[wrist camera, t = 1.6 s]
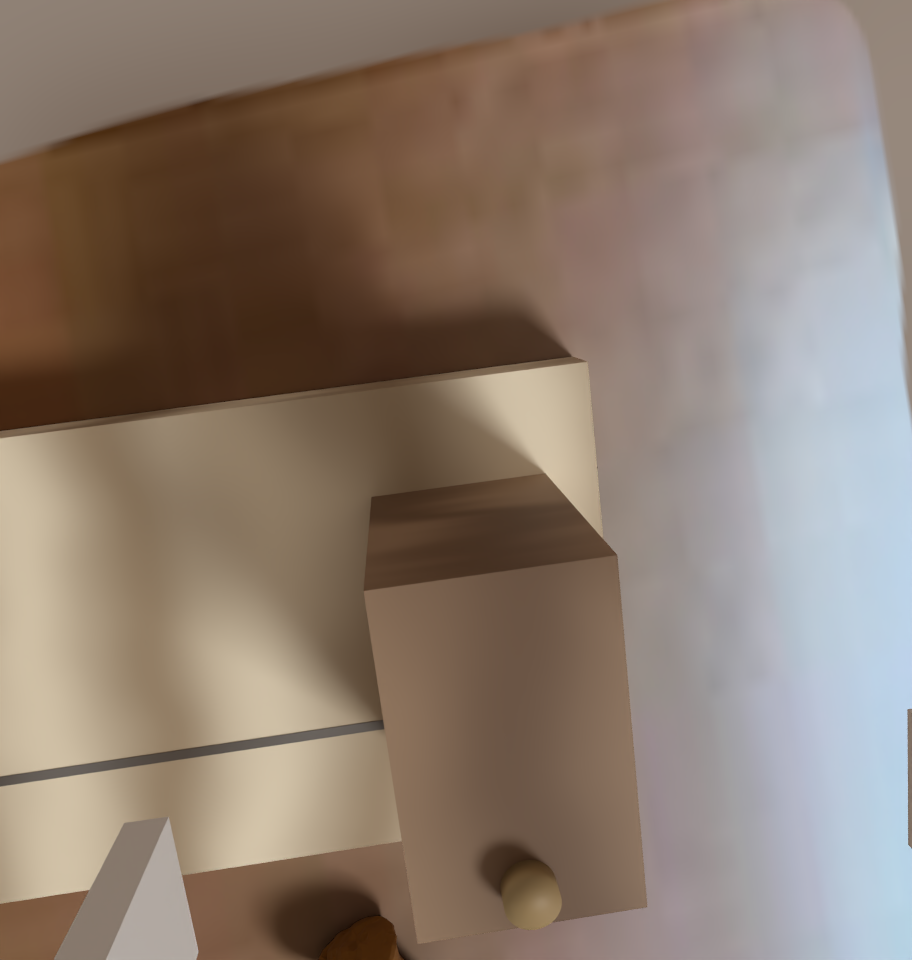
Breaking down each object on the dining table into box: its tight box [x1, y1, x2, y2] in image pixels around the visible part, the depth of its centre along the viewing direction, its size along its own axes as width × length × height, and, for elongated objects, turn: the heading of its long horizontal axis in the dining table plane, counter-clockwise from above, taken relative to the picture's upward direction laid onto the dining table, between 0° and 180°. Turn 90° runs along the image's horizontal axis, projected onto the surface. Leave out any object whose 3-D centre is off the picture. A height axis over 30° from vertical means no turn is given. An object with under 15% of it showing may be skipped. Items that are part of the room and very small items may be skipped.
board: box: [0, 357, 603, 904], centre depth 26 cm, size 28×14×2 cm, turn 97°
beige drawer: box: [363, 473, 647, 944], centre depth 21 cm, size 5×8×9 cm, turn 7°
